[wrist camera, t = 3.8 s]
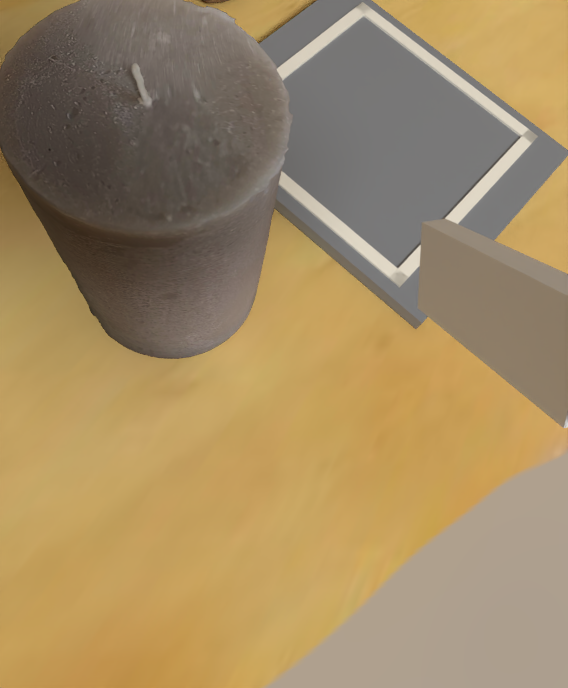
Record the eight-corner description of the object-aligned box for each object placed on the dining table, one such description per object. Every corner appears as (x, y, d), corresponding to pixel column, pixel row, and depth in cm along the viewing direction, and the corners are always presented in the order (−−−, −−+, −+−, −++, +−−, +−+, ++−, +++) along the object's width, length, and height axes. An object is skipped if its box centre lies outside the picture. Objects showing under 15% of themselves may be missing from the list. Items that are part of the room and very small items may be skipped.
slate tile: (172, 120, 33) (170, 107, 32) (341, -7, 39) (345, -23, 37) (415, 328, 31) (423, 322, 30) (561, 162, 36) (571, 150, 35)
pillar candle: (53, 319, 28) (-105, 127, 14) (134, 179, 32) (71, -91, 17) (220, 387, 28) (228, 263, 14) (284, 241, 32) (342, 22, 18)
